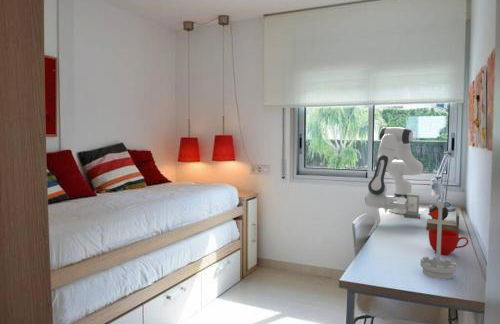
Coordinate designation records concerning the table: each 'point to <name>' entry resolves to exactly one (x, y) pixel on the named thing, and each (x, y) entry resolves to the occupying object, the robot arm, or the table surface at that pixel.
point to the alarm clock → (444, 210)
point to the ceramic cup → (445, 241)
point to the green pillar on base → (412, 211)
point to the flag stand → (438, 254)
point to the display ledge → (444, 224)
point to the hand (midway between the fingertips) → (414, 204)
